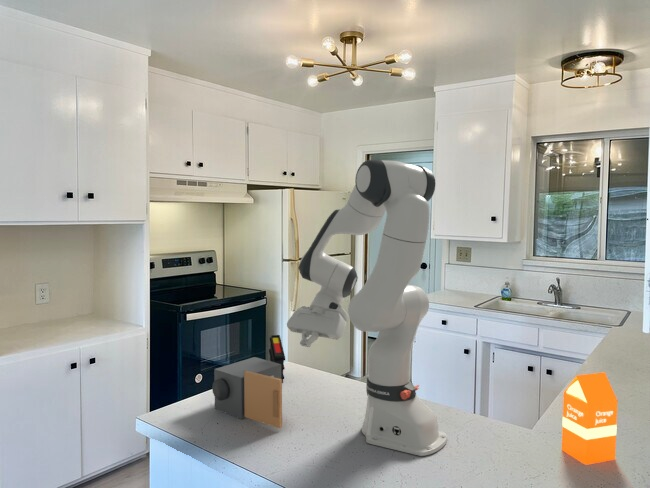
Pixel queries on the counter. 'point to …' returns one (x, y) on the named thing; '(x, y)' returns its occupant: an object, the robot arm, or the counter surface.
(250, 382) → the side door
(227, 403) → the camera box
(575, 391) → the orange juice
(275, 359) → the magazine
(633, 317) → the counter surface
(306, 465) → the counter surface
